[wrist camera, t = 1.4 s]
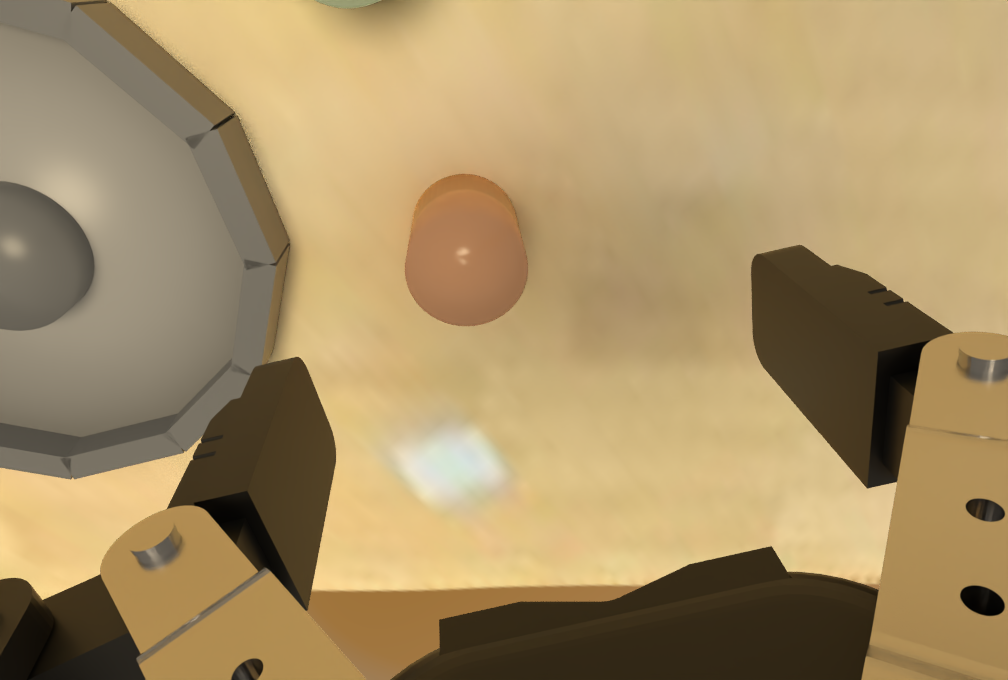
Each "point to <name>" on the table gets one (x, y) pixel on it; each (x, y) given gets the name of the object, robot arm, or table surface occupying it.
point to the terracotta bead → (465, 252)
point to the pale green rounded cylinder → (347, 3)
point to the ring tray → (122, 245)
